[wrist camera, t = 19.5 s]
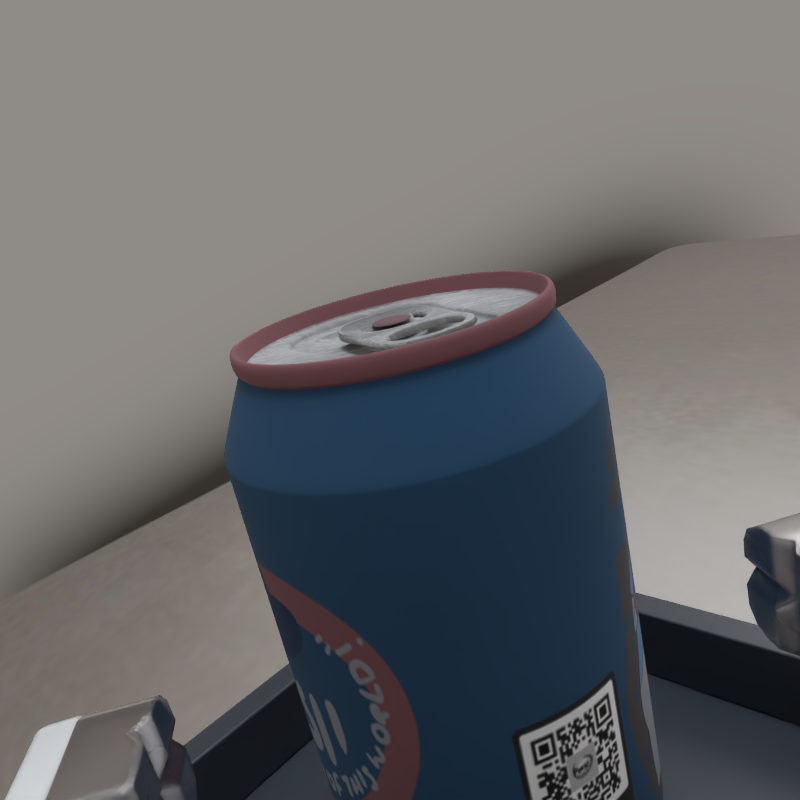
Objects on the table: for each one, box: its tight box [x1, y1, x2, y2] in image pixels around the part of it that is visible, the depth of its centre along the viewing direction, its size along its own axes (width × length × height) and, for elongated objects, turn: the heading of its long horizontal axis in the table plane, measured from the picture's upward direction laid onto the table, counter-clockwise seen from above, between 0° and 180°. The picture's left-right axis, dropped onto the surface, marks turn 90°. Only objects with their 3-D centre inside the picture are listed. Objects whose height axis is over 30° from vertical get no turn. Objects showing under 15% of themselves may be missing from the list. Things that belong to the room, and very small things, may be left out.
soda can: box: [224, 271, 663, 800], centre depth 14 cm, size 7×7×12 cm
